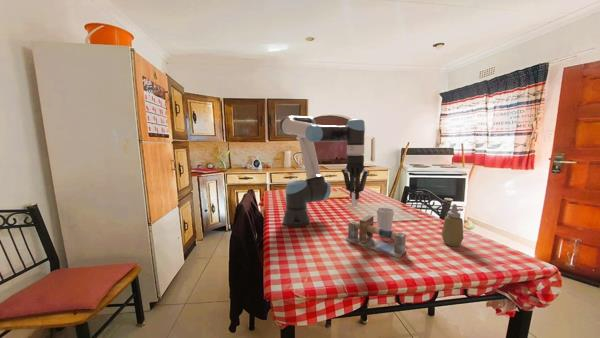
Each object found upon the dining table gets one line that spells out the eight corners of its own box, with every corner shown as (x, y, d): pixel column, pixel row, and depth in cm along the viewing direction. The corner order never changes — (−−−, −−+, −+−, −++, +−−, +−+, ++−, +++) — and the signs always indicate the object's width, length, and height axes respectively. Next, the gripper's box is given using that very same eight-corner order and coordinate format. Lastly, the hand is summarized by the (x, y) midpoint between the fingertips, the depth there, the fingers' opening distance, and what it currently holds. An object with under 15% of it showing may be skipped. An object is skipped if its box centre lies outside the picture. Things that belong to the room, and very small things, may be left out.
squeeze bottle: (459, 241, 102) (462, 202, 100) (465, 249, 94) (469, 208, 92) (438, 238, 105) (441, 201, 102) (443, 246, 97) (446, 206, 95)
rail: (345, 240, 104) (346, 222, 102) (354, 234, 109) (354, 218, 108) (399, 258, 88) (400, 237, 87) (406, 250, 93) (407, 231, 92)
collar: (359, 241, 99) (359, 219, 97) (367, 235, 105) (368, 215, 104) (364, 243, 97) (365, 221, 96) (372, 237, 103) (373, 216, 102)
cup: (394, 237, 107) (395, 212, 105) (376, 235, 109) (377, 211, 107) (391, 230, 115) (392, 207, 113) (374, 229, 116) (375, 206, 115)
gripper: (338, 154, 102) (337, 205, 105) (365, 155, 93) (363, 210, 96) (346, 154, 108) (346, 201, 110) (372, 154, 99) (371, 206, 102)
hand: (354, 205), depth 103 cm, fingers closed
